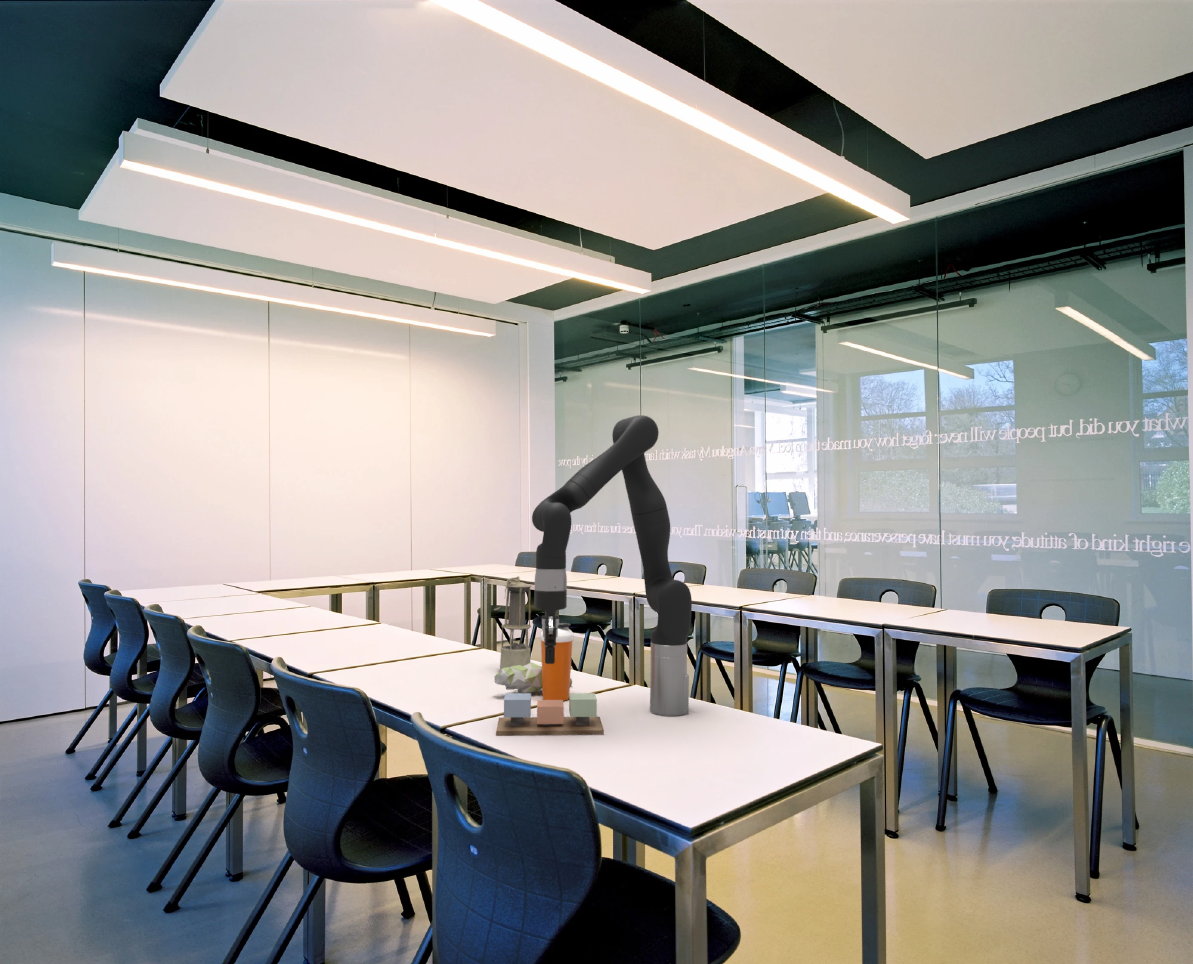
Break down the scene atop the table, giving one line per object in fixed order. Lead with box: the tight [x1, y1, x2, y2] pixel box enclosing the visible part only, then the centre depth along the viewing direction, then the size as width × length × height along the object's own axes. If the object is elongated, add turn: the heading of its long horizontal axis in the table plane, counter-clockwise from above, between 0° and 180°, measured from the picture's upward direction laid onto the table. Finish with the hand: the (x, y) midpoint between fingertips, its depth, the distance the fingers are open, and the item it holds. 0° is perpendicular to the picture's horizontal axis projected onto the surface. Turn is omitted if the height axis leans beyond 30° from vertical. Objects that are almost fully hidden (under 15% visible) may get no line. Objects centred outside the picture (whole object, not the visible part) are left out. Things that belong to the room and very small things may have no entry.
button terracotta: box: [536, 699, 565, 724], centre depth 168 cm, size 6×6×4 cm
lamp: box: [493, 576, 532, 673], centre depth 226 cm, size 10×13×30 cm
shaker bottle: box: [539, 622, 574, 702], centre depth 196 cm, size 9×9×20 cm
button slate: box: [503, 692, 532, 717], centre depth 168 cm, size 6×6×4 cm
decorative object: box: [493, 662, 573, 695], centre depth 202 cm, size 9×10×25 cm
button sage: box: [568, 692, 598, 717], centre depth 169 cm, size 6×6×4 cm
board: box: [495, 716, 605, 737], centre depth 168 cm, size 24×11×3 cm, turn 95°
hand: (549, 663), depth 170 cm, fingers closed
